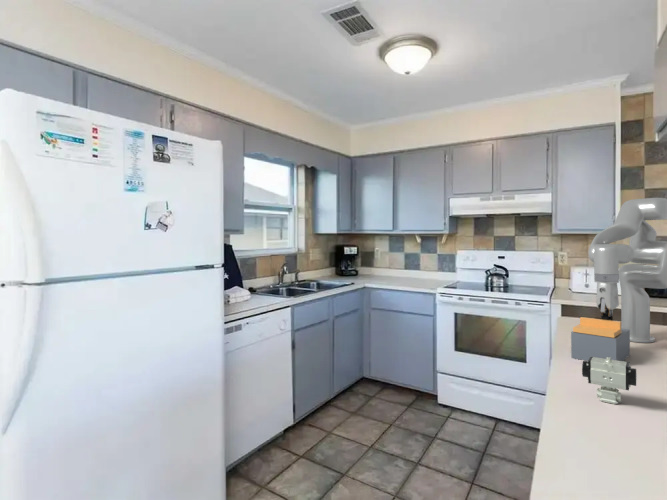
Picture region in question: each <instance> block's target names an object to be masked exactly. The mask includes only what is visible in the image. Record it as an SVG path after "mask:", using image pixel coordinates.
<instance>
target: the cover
mask: <svg viewBox="0 0 667 500" xmlns="http://www.w3.org/2000/svg"><path fill="white" fill-rule="evenodd" d="M572 329H573V332H578V333H585V334H592V335H598V336H605V337H612V338H615V337H616V336H618V335H619V334H621V321H620V320H619V321H618V320H613V321H610V320H602V319H601V318H593V317H583V316H580V318H579V324H577V325H575V326H573V327H572Z"/></svg>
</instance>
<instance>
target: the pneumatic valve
mask: <svg viewBox="0 0 667 500" xmlns="http://www.w3.org/2000/svg"><path fill="white" fill-rule="evenodd" d="M606 358H607V359H603V358H597V357H590V358H589V360H588V361H585V360H582V363H581V364H582V365H581V373H582V374H581V375H582V377H583V378H586V380H587V383H588V384H592V385H597V386H600V388H598V387H597V389H596V397H597V398H599V401H601V402H602V403H608V404H613V405H618V404H619V403H621V402H622V393H621V392H620V390H624V391H629V390H630V388H631V387H632V386H634V387H636V386H637V381H638V380H637V378H638V377H637V376H638V375H637V373H638V372H637V368H633V367H632V366H631V363H630V361H625V360H624V361H617V360H611V358H610V357H609V358H608V357H606Z"/></svg>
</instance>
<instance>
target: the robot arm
mask: <svg viewBox="0 0 667 500" xmlns="http://www.w3.org/2000/svg"><path fill="white" fill-rule="evenodd" d="M661 220H663V221H664V220H667V198H665V197H647V198H646V197H645V198H634V199H629V200H626V201H625V202H624V203H623V204H622V205H621V207H620V209H619V212H618V214H617V216H616V218H615V220H614V222H613V224H611V225H609V226H608V227H606V228H604V229H603V230H601V231H600V232H598V233H597V234H596V235H595V236H594V237H593V239H592V241H591V243H590V245H589V248H588V251H587V252H588V258H589V260H590V261H591V262H593V266H594V267H593V269H594V275H593V276H594V277H593V278H594V281H593V282H594V283H596V307H597V309H600V314H601V315H600V316H601V318H600V319H602V320H610V321H614V320H613V312H614V311H613V310H615V309H616V308H618V307H619V305H620V312H621V314H620V315H621V316H620V318H621V321H620V322H621V329H629V330H630V342H633V343H641V344H642V343H645V344H646V343H648V344H649V343H654V342H656V338H655V337H654V336H652V335H651V298H650V295H649V294H648V293H647V292H646V290H645V289H646V288H647V289H658V290H659V289H661V290H662V289H664V290H665V289H667V241H665V240H664V241H663V240H656V239H657V231H656V229H655V228H654V227H653V226H652V225H650V224H649V223H648V222H647V221H661ZM628 238H630V239H629V244H625V243H624V244H623V243H614V242H618V241H622V240H626V239H628ZM629 262H631V263H629ZM628 263H629V264H628ZM621 264H622V266H620V267H619V265H621ZM618 284H619V286H620V296H621V297H620V300H619V290H618ZM619 301H620V302H619ZM619 303H621V304H619Z"/></svg>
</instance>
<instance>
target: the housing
mask: <svg viewBox="0 0 667 500" xmlns="http://www.w3.org/2000/svg"><path fill="white" fill-rule="evenodd" d="M570 336H571V337H570V340H571V341H570V343H571V345H570V348H571V352H570V353H571V359H575V360H581V361H588V360H589V358H590V357H597V358H603V359H607V358H606V357H608V358H609V357H610V358H611V360H617V361H624V362H625V360H626V359H627V358H628V357H630V356H631V352H630V351H631V344H630V343H631V341H630V330H629V329H621V334H619V335H618V336H616V337H615V338H612V337H605V336H598V335H592V334H585V333H578V332H573V331H571V333H570Z"/></svg>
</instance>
